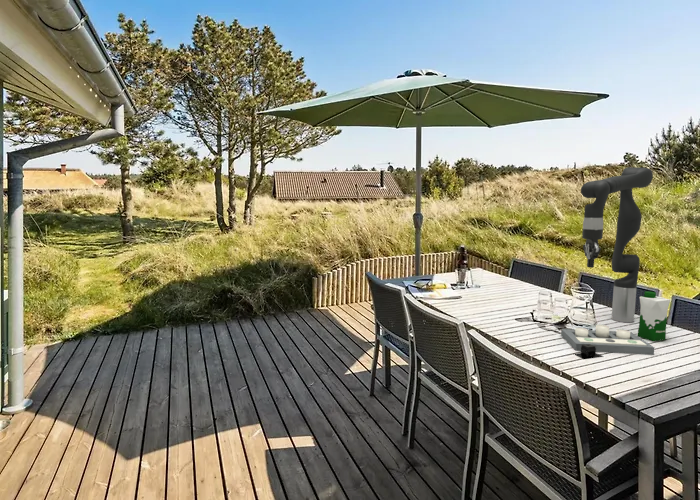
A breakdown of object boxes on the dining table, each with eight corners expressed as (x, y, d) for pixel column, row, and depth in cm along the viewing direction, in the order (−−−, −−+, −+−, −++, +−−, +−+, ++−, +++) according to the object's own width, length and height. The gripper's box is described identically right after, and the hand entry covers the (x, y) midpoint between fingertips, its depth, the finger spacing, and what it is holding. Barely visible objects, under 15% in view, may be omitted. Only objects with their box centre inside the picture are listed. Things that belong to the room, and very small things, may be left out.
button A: (613, 340, 168) (614, 329, 167) (626, 340, 167) (626, 329, 166) (618, 344, 163) (619, 332, 162) (631, 345, 162) (632, 333, 161)
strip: (575, 338, 164) (575, 336, 163) (639, 341, 159) (640, 339, 159) (580, 342, 159) (580, 341, 159) (646, 345, 154) (646, 344, 154)
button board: (561, 335, 175) (561, 328, 175) (630, 338, 170) (631, 331, 170) (575, 350, 158) (576, 343, 158) (653, 354, 152) (654, 347, 152)
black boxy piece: (593, 351, 158) (594, 340, 158) (609, 358, 151) (609, 347, 151) (567, 355, 155) (568, 344, 155) (582, 362, 148) (583, 350, 148)
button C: (573, 338, 171) (573, 327, 170) (585, 338, 170) (585, 327, 169) (577, 342, 166) (577, 331, 165) (589, 342, 165) (590, 331, 164)
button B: (593, 335, 169) (594, 324, 168) (605, 336, 168) (606, 324, 167) (598, 339, 164) (598, 328, 164) (610, 340, 163) (611, 328, 163)
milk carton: (648, 333, 176) (652, 290, 173) (669, 340, 167) (673, 295, 164) (633, 335, 173) (637, 291, 171) (654, 342, 165) (658, 296, 162)
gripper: (577, 226, 176) (575, 264, 178) (589, 229, 163) (586, 269, 166) (595, 226, 175) (593, 264, 177) (609, 229, 162) (606, 270, 164)
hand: (590, 267), depth 171 cm, fingers closed
